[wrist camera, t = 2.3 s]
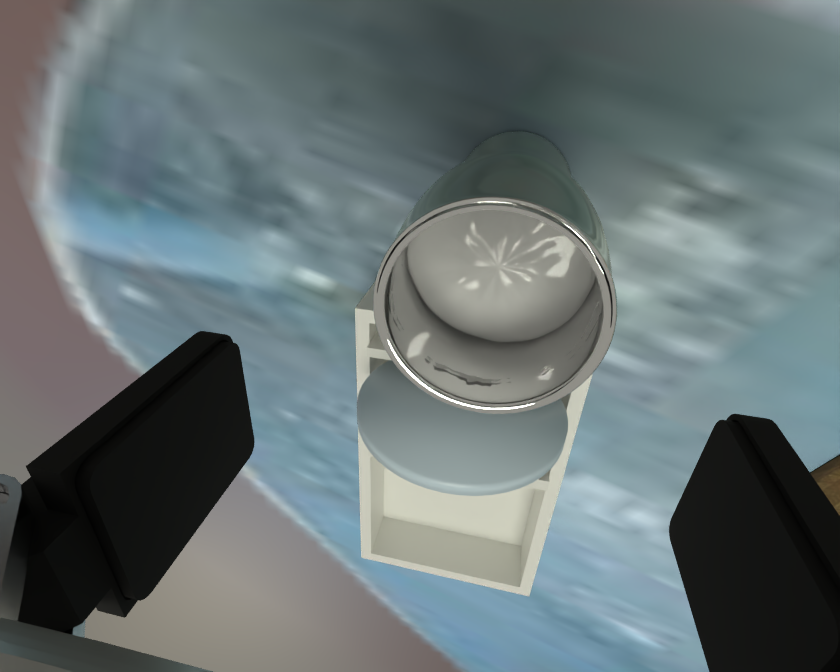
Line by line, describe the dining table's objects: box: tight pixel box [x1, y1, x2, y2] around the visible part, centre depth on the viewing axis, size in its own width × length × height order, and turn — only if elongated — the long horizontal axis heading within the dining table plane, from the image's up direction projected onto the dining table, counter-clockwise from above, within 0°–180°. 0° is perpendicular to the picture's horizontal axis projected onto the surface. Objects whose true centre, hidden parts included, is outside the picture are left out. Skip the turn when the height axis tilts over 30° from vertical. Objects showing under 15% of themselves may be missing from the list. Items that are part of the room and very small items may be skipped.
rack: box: [355, 282, 592, 596], centre depth 29 cm, size 22×13×12 cm, turn 178°
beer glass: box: [373, 131, 617, 414], centre depth 19 cm, size 7×7×15 cm
